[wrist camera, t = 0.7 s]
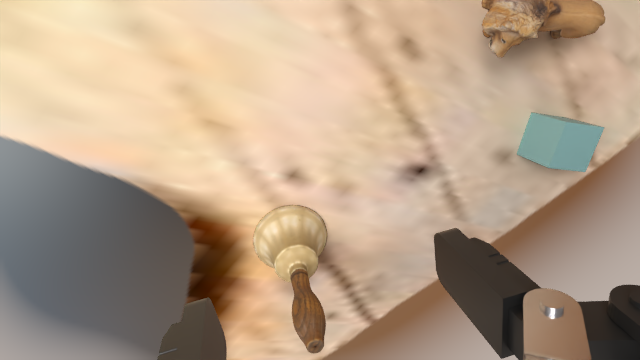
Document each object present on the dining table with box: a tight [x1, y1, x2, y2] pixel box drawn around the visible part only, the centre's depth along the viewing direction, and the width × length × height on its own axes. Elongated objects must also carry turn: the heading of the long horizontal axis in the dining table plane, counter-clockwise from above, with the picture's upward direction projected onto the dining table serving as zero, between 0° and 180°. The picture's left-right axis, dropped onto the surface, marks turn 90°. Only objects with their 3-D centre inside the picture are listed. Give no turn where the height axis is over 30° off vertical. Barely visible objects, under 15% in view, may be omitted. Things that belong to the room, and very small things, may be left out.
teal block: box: [517, 113, 604, 172], centre depth 41 cm, size 5×5×5 cm
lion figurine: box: [482, 0, 605, 58], centre depth 34 cm, size 15×5×9 cm, turn 97°
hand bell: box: [253, 205, 327, 353], centre depth 34 cm, size 8×8×16 cm
